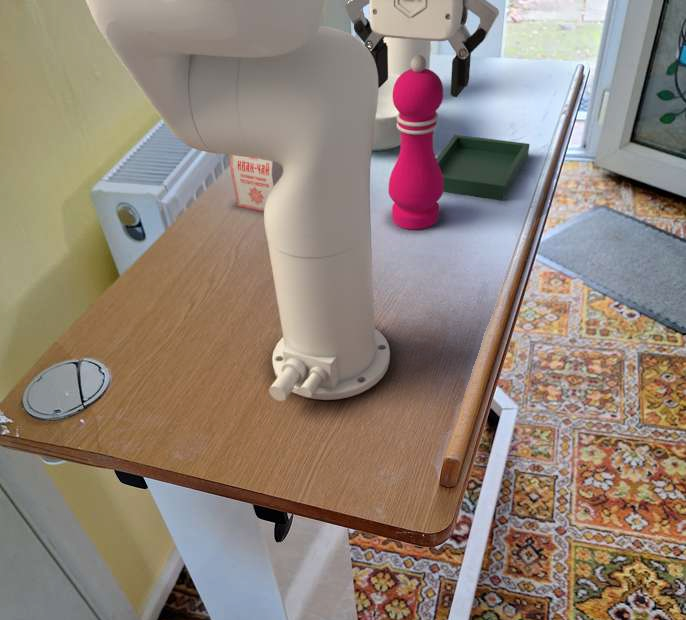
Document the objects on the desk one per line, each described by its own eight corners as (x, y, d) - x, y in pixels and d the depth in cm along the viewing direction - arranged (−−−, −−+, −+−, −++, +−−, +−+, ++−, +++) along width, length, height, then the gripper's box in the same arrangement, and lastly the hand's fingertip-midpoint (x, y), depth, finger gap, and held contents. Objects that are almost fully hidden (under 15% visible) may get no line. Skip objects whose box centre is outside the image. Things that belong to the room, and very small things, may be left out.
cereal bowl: (313, 160, 105) (309, 113, 99) (343, 116, 115) (341, 71, 110) (420, 168, 101) (421, 119, 95) (441, 122, 111) (443, 75, 106)
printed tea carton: (251, 194, 99) (239, 124, 91) (290, 202, 96) (281, 130, 89) (237, 205, 97) (224, 135, 89) (277, 214, 94) (267, 142, 87)
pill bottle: (430, 106, 116) (433, 4, 104) (383, 109, 116) (382, 8, 105) (427, 88, 121) (430, -10, 110) (382, 91, 121) (381, -7, 110)
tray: (502, 200, 93) (504, 186, 91) (423, 188, 96) (424, 174, 95) (527, 157, 101) (529, 143, 99) (453, 148, 104) (454, 134, 103)
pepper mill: (439, 233, 88) (447, 67, 73) (384, 230, 89) (382, 66, 75) (444, 206, 93) (453, 44, 78) (393, 203, 94) (392, 44, 79)
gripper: (326, -89, 67) (338, 93, 80) (496, -87, 61) (480, 109, 74) (356, -106, 71) (363, 70, 84) (518, -105, 66) (499, 83, 78)
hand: (418, 88), depth 79 cm, fingers open, 9 cm apart
